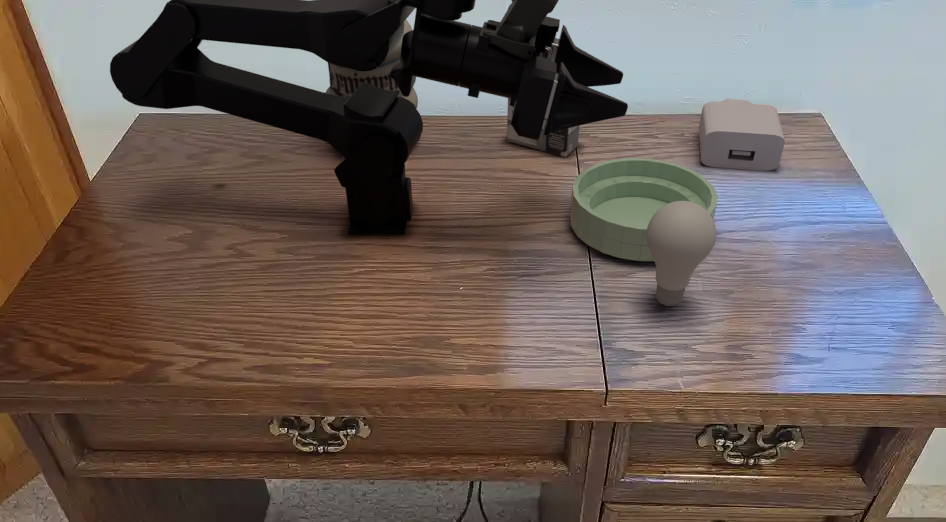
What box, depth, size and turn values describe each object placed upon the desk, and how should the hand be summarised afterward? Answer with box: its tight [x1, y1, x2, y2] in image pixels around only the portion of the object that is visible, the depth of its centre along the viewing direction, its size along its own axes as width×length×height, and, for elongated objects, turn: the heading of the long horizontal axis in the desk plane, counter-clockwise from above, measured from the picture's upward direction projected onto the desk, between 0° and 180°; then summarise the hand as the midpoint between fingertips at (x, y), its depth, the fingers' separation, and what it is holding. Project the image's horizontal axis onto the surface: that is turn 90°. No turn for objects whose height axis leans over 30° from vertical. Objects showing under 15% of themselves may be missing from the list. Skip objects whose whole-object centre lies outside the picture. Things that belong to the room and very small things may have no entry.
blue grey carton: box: [506, 98, 581, 158], centre depth 100 cm, size 9×4×12 cm, turn 58°
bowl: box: [569, 157, 718, 262], centre depth 87 cm, size 15×15×4 cm
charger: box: [698, 98, 786, 172], centre depth 102 cm, size 5×9×15 cm
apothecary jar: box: [324, 19, 419, 110], centre depth 99 cm, size 12×12×18 cm
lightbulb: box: [646, 201, 717, 307], centre depth 74 cm, size 6×6×11 cm
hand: (624, 93), depth 76 cm, fingers open, 9 cm apart
